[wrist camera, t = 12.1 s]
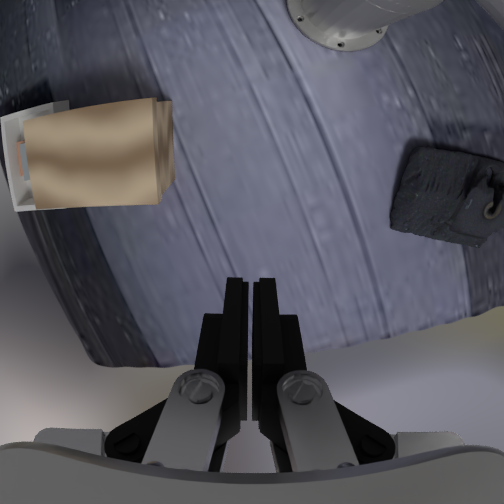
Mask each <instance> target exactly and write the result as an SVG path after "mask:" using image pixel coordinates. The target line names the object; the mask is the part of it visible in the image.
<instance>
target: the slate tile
mask: <svg viewBox="0 0 504 504" xmlns="http://www.w3.org/2000/svg"><path fill="white" fill-rule="evenodd" d="M19 147H20V155H21V162H22V169H23V175H24V181H27V180H30V175H29V169H28V162H27V155H26V147H25V142H24V143H22V144H19Z"/></svg>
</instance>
